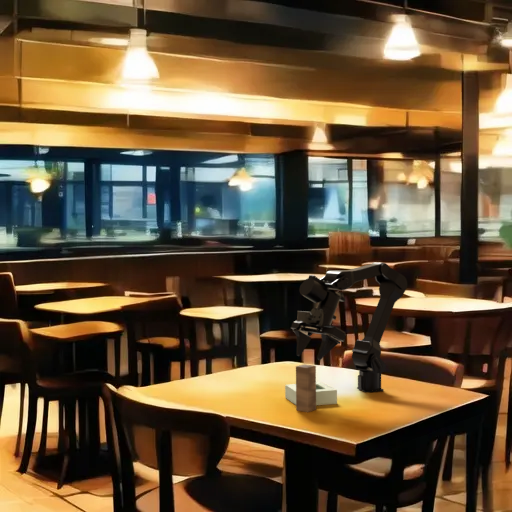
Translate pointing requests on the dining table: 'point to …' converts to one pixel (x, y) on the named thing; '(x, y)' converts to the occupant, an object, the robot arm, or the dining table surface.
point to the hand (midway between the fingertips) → (308, 357)
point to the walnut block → (305, 388)
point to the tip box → (323, 393)
